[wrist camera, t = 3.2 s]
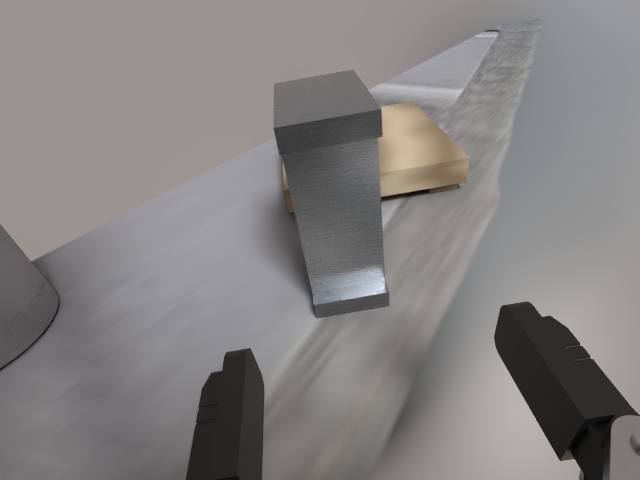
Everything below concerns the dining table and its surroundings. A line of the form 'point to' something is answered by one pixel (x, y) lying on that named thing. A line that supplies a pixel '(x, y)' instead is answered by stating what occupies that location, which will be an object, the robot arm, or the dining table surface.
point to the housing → (335, 187)
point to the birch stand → (412, 154)
